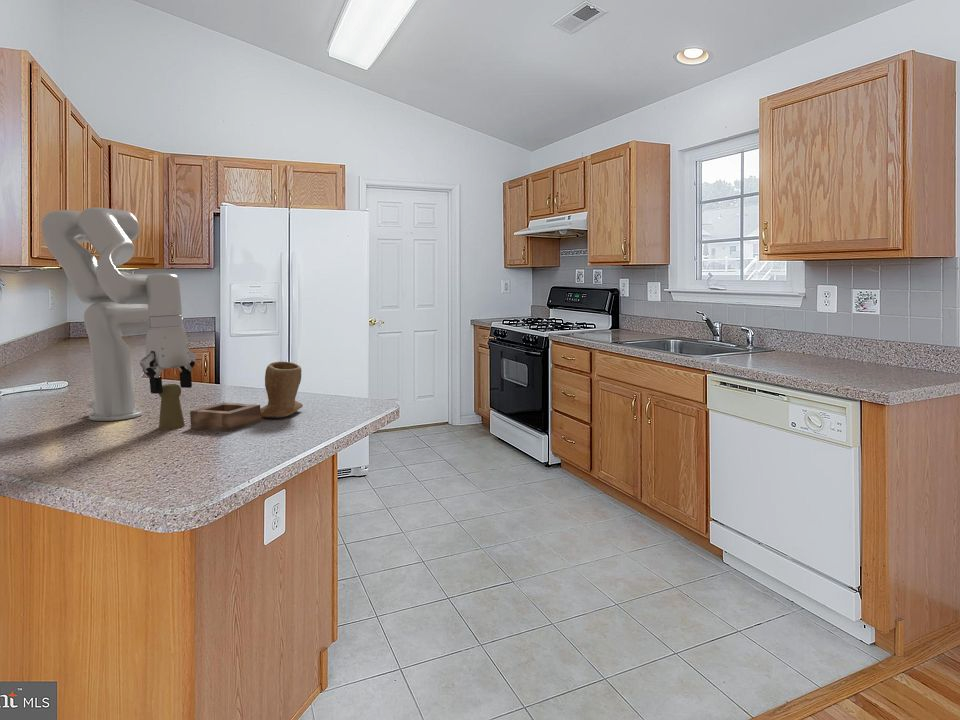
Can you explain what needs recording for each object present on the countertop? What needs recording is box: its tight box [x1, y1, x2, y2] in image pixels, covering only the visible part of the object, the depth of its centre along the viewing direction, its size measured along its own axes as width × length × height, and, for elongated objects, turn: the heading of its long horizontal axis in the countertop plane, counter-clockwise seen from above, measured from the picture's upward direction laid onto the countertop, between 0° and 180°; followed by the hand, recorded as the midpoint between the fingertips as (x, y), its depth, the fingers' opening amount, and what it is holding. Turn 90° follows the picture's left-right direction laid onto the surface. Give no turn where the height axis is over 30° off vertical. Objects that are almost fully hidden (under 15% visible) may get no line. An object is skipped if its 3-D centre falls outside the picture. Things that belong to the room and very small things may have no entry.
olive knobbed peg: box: [158, 383, 186, 430], centre depth 158 cm, size 6×6×11 cm
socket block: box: [189, 401, 262, 433], centre depth 160 cm, size 12×12×4 cm
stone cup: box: [260, 360, 303, 418], centre depth 172 cm, size 15×12×15 cm
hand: (171, 390), depth 157 cm, fingers open, 9 cm apart
